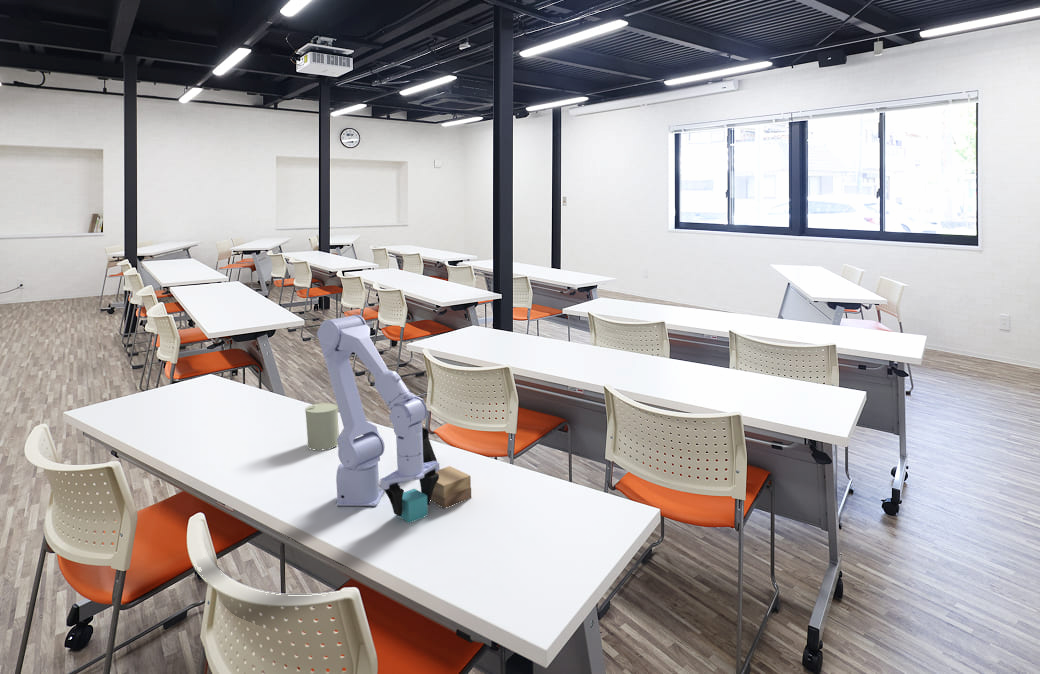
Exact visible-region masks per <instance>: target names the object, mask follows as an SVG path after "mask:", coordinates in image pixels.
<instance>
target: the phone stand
mask: <svg viewBox="0 0 1040 674" xmlns="http://www.w3.org/2000/svg"><path fill="white" fill-rule="evenodd" d="M429 435H430V432H429V430H428V428H425V427H423V426H422V439H423V463H427V462H431V461H436V462H438V460H437V458H436V454H435V452H434V450H433V449H434V448H433V446H432V444H431V441H430V438H429V437H430V436H429Z"/></svg>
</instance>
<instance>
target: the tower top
mask: <svg viewBox="0 0 1040 674" xmlns="http://www.w3.org/2000/svg"><path fill="white" fill-rule="evenodd" d="M435 473H437V474H439V479H438V481H437V483H436V484H435V487H434V489H433V492H434V493H436V494H438V495H440V496H441V497H443V498H445V497H448V496H450V495H453V494H455V493H458V492H460V491H463V490H465V489H468V488H470V487H471V486H472V485H471V484H472V483H471V475H470V474H468V473H465V472H463V471H461V470H460V469H457V468H455V467H453V466H450V465H449V466H445V467H444V468H441V469H440V468H439V471H437V472H435ZM471 488H472V487H471Z"/></svg>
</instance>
